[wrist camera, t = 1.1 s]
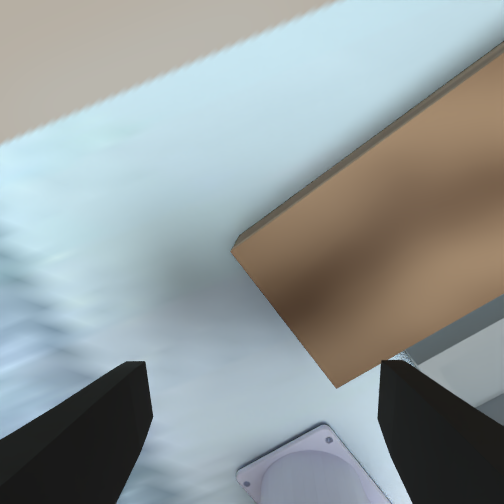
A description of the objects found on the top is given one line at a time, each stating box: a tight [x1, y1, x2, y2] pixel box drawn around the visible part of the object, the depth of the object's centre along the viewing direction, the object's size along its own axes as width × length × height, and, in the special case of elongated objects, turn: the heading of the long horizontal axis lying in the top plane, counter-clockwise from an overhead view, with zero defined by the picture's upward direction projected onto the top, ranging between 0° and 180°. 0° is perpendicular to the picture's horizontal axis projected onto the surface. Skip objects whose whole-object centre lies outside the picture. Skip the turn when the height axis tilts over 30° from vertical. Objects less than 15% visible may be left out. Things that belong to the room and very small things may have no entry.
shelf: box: [230, 41, 504, 389], centre depth 14 cm, size 9×18×4 cm, turn 127°
